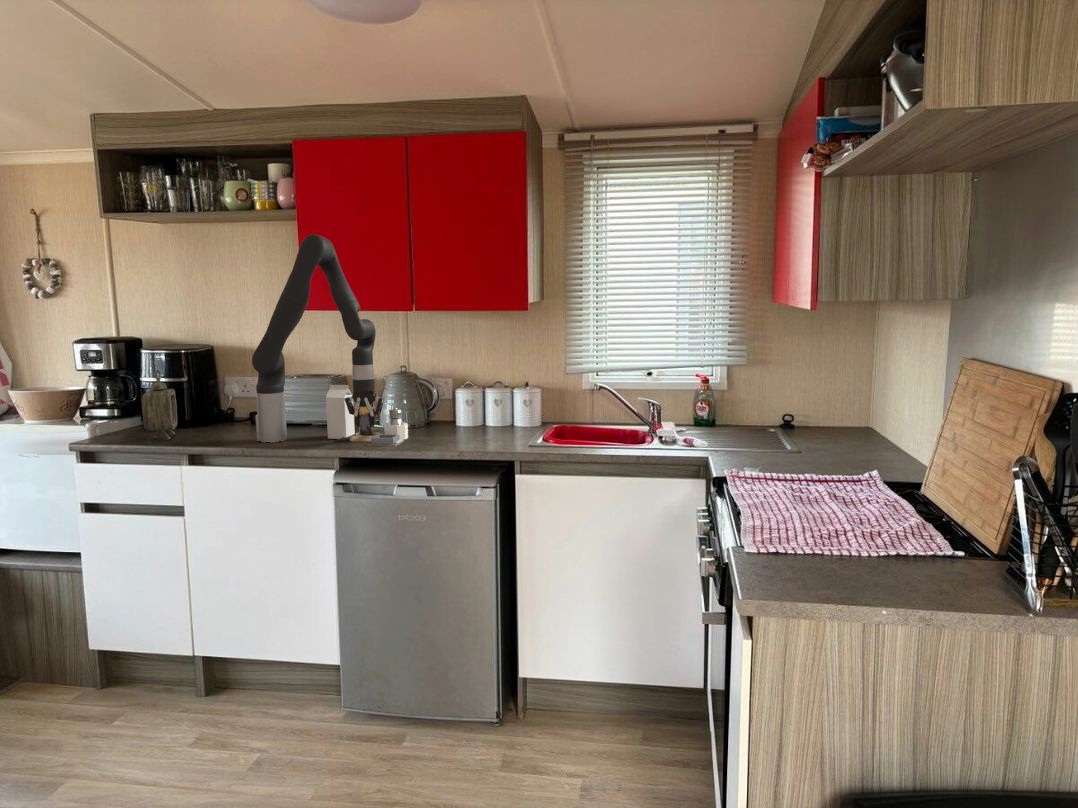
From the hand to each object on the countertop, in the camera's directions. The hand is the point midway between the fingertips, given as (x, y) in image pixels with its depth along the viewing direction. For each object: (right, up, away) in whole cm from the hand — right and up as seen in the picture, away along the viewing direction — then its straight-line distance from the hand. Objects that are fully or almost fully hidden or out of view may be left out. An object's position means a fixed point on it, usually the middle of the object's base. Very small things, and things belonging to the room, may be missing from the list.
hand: (365, 426), depth 272 cm
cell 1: (0, -3, 0) cm, 3 cm away
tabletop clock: (-76, -5, +11) cm, 77 cm away
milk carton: (-11, -5, +9) cm, 15 cm away
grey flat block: (+8, -6, -7) cm, 13 cm away
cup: (+10, -5, +2) cm, 12 cm away
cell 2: (+10, -4, +2) cm, 11 cm away
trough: (0, -5, +1) cm, 5 cm away
